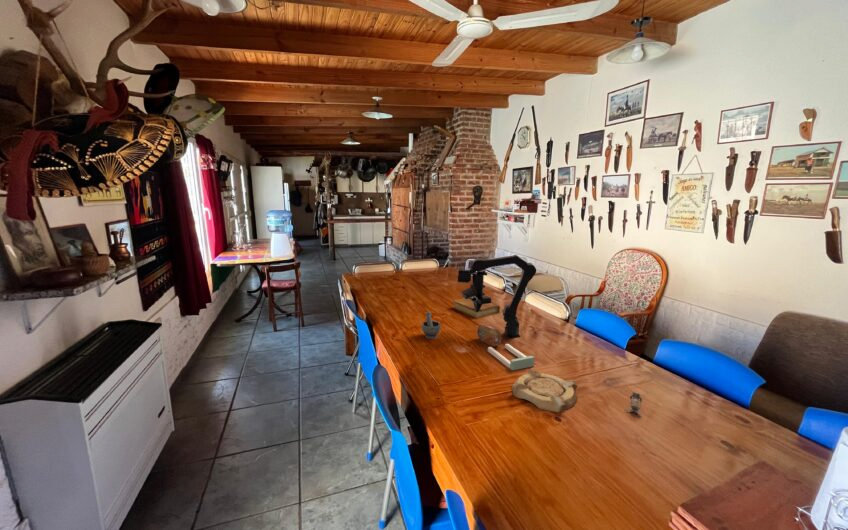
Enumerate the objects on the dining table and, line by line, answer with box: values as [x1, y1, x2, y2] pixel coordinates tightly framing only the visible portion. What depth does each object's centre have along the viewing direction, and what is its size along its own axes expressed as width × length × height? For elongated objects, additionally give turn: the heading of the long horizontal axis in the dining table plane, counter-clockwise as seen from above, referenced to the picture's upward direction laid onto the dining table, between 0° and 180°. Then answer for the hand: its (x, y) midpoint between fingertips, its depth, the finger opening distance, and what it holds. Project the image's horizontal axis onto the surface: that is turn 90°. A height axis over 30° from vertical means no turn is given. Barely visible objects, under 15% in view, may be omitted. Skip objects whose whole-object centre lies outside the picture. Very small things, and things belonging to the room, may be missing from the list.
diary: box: [452, 298, 501, 319], centre depth 219 cm, size 23×19×6 cm
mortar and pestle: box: [421, 311, 442, 340], centre depth 178 cm, size 11×9×12 cm
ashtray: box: [511, 368, 579, 413], centre depth 127 cm, size 24×24×5 cm
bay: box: [487, 343, 535, 371], centre depth 154 cm, size 11×20×4 cm, turn 20°
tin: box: [477, 324, 502, 348], centre depth 170 cm, size 15×3×8 cm, turn 31°
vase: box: [623, 391, 643, 417], centre depth 117 cm, size 5×5×6 cm
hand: (477, 312), depth 181 cm, fingers closed
